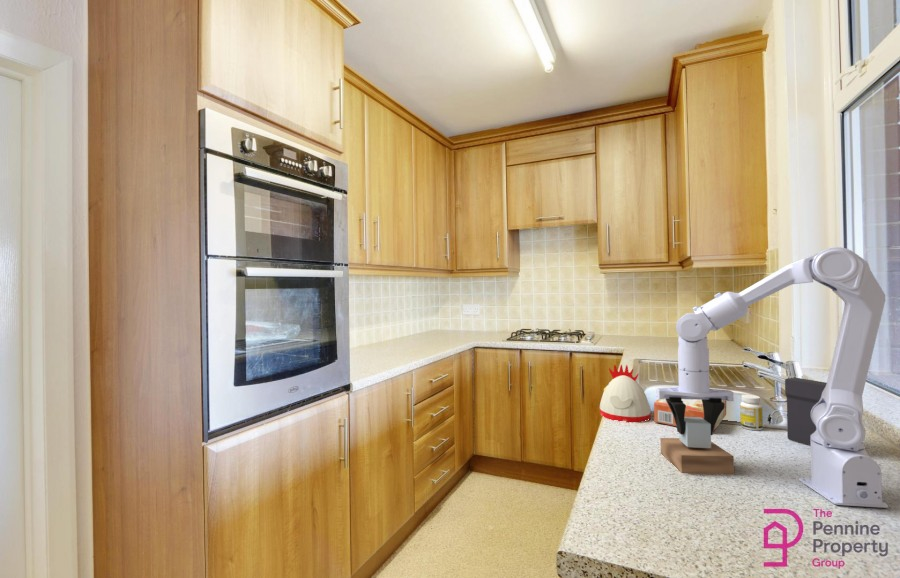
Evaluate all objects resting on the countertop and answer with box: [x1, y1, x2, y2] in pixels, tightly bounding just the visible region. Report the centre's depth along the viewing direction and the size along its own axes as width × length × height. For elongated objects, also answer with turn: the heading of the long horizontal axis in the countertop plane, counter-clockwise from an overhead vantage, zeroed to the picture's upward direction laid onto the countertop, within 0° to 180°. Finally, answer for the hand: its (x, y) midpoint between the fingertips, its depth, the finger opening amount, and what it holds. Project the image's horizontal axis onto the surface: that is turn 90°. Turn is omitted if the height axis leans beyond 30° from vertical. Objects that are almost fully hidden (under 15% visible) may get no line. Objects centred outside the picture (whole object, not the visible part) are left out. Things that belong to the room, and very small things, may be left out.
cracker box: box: [653, 398, 727, 432], centre depth 118 cm, size 14×6×21 cm
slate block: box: [678, 417, 712, 448], centre depth 88 cm, size 4×4×5 cm
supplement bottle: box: [739, 394, 764, 431], centre depth 110 cm, size 5×5×8 cm
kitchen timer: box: [599, 364, 652, 423], centre depth 123 cm, size 14×14×15 cm
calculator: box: [784, 377, 827, 447], centre depth 97 cm, size 11×4×15 cm, turn 22°
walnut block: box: [660, 437, 735, 475], centre depth 88 cm, size 10×10×4 cm
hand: (694, 433), depth 88 cm, fingers open, 5 cm apart
